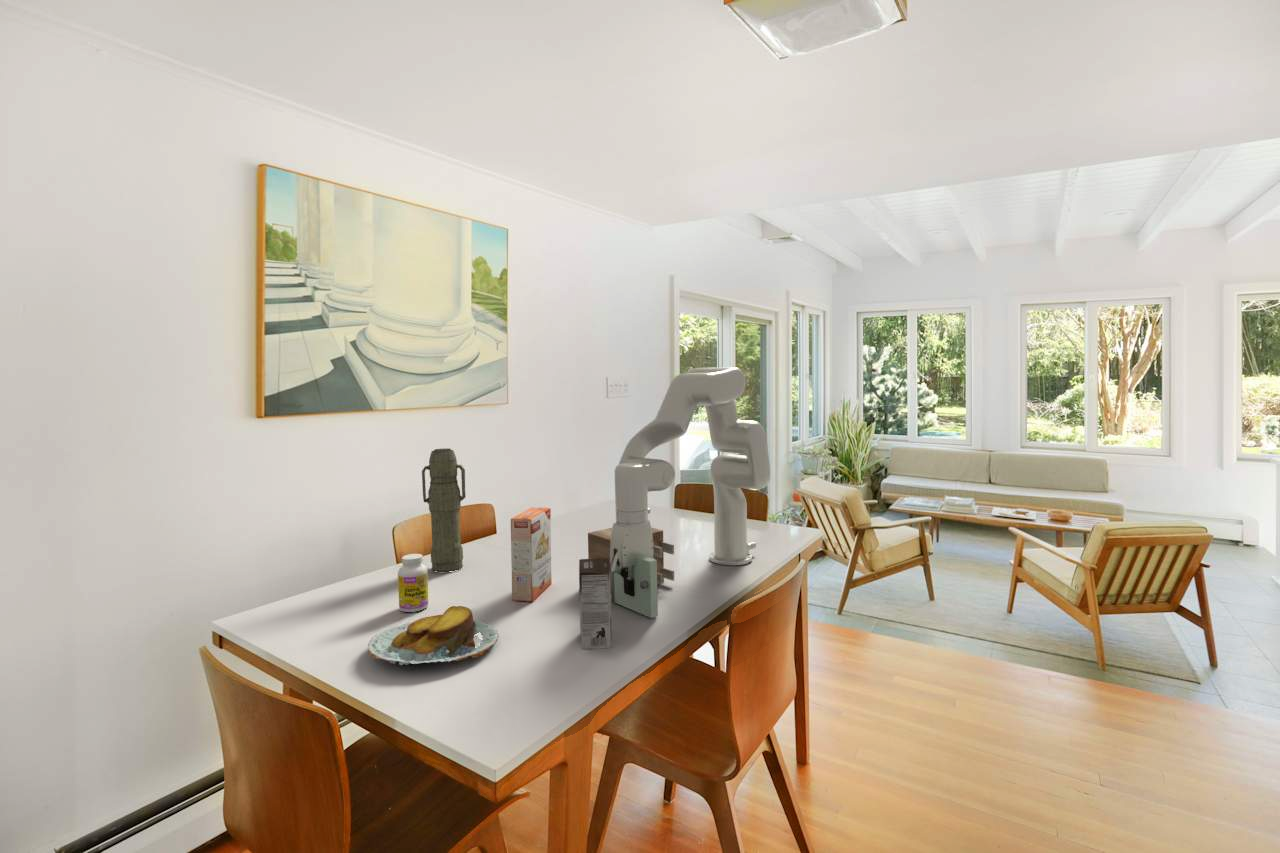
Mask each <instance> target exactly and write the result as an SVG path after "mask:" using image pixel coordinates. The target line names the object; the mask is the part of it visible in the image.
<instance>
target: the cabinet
mask: <svg viewBox="0 0 1280 853" xmlns="http://www.w3.org/2000/svg"><path fill="white" fill-rule="evenodd" d="M651 530H652V537H653V558H654V559H655V560H657V585H663V583H664V582H665V580H669V581H675V570H672V569H669V568H667V567H665V566H664V563H665V562H664V553H665V554H668V555H669V554H670V555H672V556H673V555H674V554H675V544H673V543H669V542H667V541H666V542H665V541H664V530H663V529H659V528H656V527H652V526H651ZM611 532H612V527H609V528H605V529H599V530H595V531H590V532H588V533H587V551H588V552H587V553H588V554H587V555H588V558H587V559H608V560H609V566H610V586H611V564H610V541H611Z"/></svg>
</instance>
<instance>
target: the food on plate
mask: <svg viewBox="0 0 1280 853" xmlns="http://www.w3.org/2000/svg"><path fill="white" fill-rule="evenodd" d="M479 632H480V633H481V635H482V636H483V637H482V638H483V640H482V641H481V640H480V642H481V643H480V646H478V647H477V648H475V646H476V642H475V641H474V640H473V638H475V637H474V635H475V634H477V633H479ZM499 637H500V635H499V633H498V630H497V629H496V628H495V627H494V626H492V625H490V624H488V623H487V622H481V621H479V620H474V617H473V612H472V610H471V609H470V608H469V607H466V606H462V605H457V606H456V605H452V606H450V607H448V608H447V609H446V610H445V611H444V612H443V613H442V614H436V615H431V616H425V617H422V618H419V619H417V620H415V621H411V622H407V623H404V624H402V625H395V626H393V627H389V628H385V629H384V630H382V631H380V632H378V633H376V634H375V635H374V636H372V637H371V639H370V641H369V642H368V644H367V646H368V652H369V653H370V654H371V657H373V658H374V659H375V658H376V659H382V660H383V661H387V662H388V663H389V664H394V665H395V664H396V662H399V663H398V665H400V666H403V665H405V666H408V665H409V664H413V665H414V664H415V665H417V664H423V663H428V664H429V663H437V662H441V663H444V662H448V663H450V662H451V661H455V662H459V661H460V660H465V659H468V658H469V657H472V658H473V659H474V658H478V657H479V655H480V656H483V655H484V652H485V651H486V650H489V649H490V647H491V646H493V645H495V644H496V643H497V642H498V640H499Z"/></svg>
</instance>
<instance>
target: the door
mask: <svg viewBox="0 0 1280 853" xmlns="http://www.w3.org/2000/svg"><path fill="white" fill-rule="evenodd" d="M610 564H611V562H610ZM611 568H612V564H611ZM620 568H621V566H620ZM626 571H627V569H626ZM632 579H634V596H630V595H627V594H625V593H624V578H623V577H621V575H620V574H618V573H614V572H612V571H611V603H616V604H618V605H621V606H623V607H625V608H628V609H630V610H632V611H634V612H636V613H639V614H641V615H643V616H646V617H647V618H650V619H653V618H655V617H658V615H659V610H658V609H659V607H658V606H659V605H658V603H659V602H658V596H659V595H658V584H657V560H655V559H652V558H649V557H646V556H643V555H642V556H638V557H636V562H635V565H634V566H632Z"/></svg>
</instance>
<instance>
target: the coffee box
mask: <svg viewBox="0 0 1280 853" xmlns="http://www.w3.org/2000/svg"><path fill="white" fill-rule="evenodd" d="M578 565H579V566H578V571H579V572H578V581H579V584H578V586H579V588H578V589H579V592H578V594H579V621H580V625H579V626H580V627H579V628H580V647H581V650H589V649H590V650H591V649H592V650H593V649H610V648H612V604H611V603H612V599H611V586H610V566H609V560H608V559H588V558H581V559H579V562H578Z"/></svg>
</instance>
